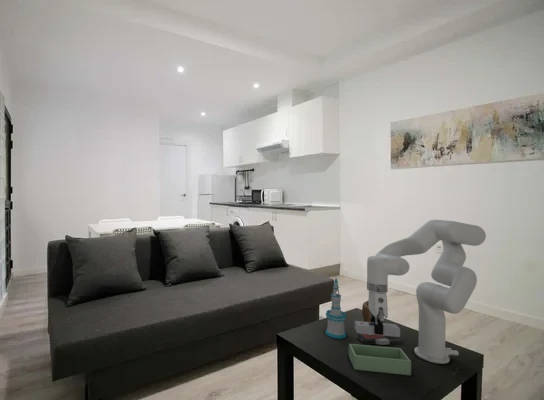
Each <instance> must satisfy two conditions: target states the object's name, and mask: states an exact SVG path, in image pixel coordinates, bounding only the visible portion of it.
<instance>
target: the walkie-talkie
mask: <svg viewBox="0 0 544 400" xmlns="http://www.w3.org/2000/svg"><path fill="white" fill-rule="evenodd" d="M357 340H358V341H360V342H361V343H362V344H363V345H379V346H383V345H390V344H391V343H397V342H402V341H404V339H403V338H394V339H388V338H387V336H383V335H372V334H360V333H357Z"/></svg>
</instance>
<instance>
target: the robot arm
mask: <svg viewBox="0 0 544 400" xmlns="http://www.w3.org/2000/svg"><path fill="white" fill-rule="evenodd" d="M486 235H487V234H486V231H485V229H483V228H482V227H481V226H479V225H475V224H470V223H465V222H460V221H456V220H447V219H446V220H445V219H444V220H443V219H431V220H429V221H426V222H425V223H424V224H423V225H422V226H420V227H419V228H418V229H417V230H415V231H414V232H413V233H412V234H411V235H409V236H407V237H405V238H402V239H399V240H396V241H393V242H391V243H388V244H387V245H386V246H384V247H382V248H381V249H380V250H379V251H378V252H377V253H376V254H375V255H370V256H369V257H367V261H366V290H367V291H368V299H367V301H368V306H369V310H370V312H371V321H370V322H374V323H375V324H374V333H375V334H378V335H383V325H384V323H385V319H388V317H389V311H388V308H389V307H388V296H387V293H388V288H389V287H388V285H389V284H388V283H389V281H388V280H389V276H399V277H401V276H404V275H406V274H407V273H408V272H409V271H410V263H409V261H408V260H406V259H405V258H403V257H406V256H415V255H421V254H426V253H427V252H428V251H429V250H430V249H432V248H433V247H434V246H435V245H436V244H437V243H439V242H441V244H442V252H441V254H440V256H439V257H438V259H437V261H436V262H435V264H434V265H433V268H432V270H431V273H430V276H431V278H432V280H433V281H434V282H437V283H434V282H430V281H424V282H420V283H419V284H418V285H417V287H416V289H415V296H416V300H417V301H416V302H417V306H418V342H417V343H418V345H417V346H416V347H414V349H413V352H414V354H415V355H416V357H418V358H420V359H421V360H424V361H427V362H429V363H433V364H439V365H445V364H448V363H450V362H451V361H450V360H451V358H450V356H455V357H457V356H459V354H460V353H459V351H458V350H453V349H452V348H451V347H446V328H447V327H446V323H447V322H446V321H447V320H446V319H447V318H446V314H445V312H446V313H449V314H451V315H452V314H454V315H455V314H456V315H457V314H458V313H460V312H462V311H463V310H464V308H465V307H466V305H467V303H468V301H469V300H470V298H471V296H472V295H473V292H474V290H475V289H476V287H477V281H478V278H477V274H476V272H475V271H474V270H473V269H471V268H470V267H467V266H464V264H465V262H466V259H467V255H466V252H465V250H464V247H463V245H467V246H472V247H476V246H480V245H482V244H483V243H484V242H485V240H486V238H487V236H486ZM438 283H439V284H438ZM444 285H445V286H444ZM378 318H380V319H378Z"/></svg>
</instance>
